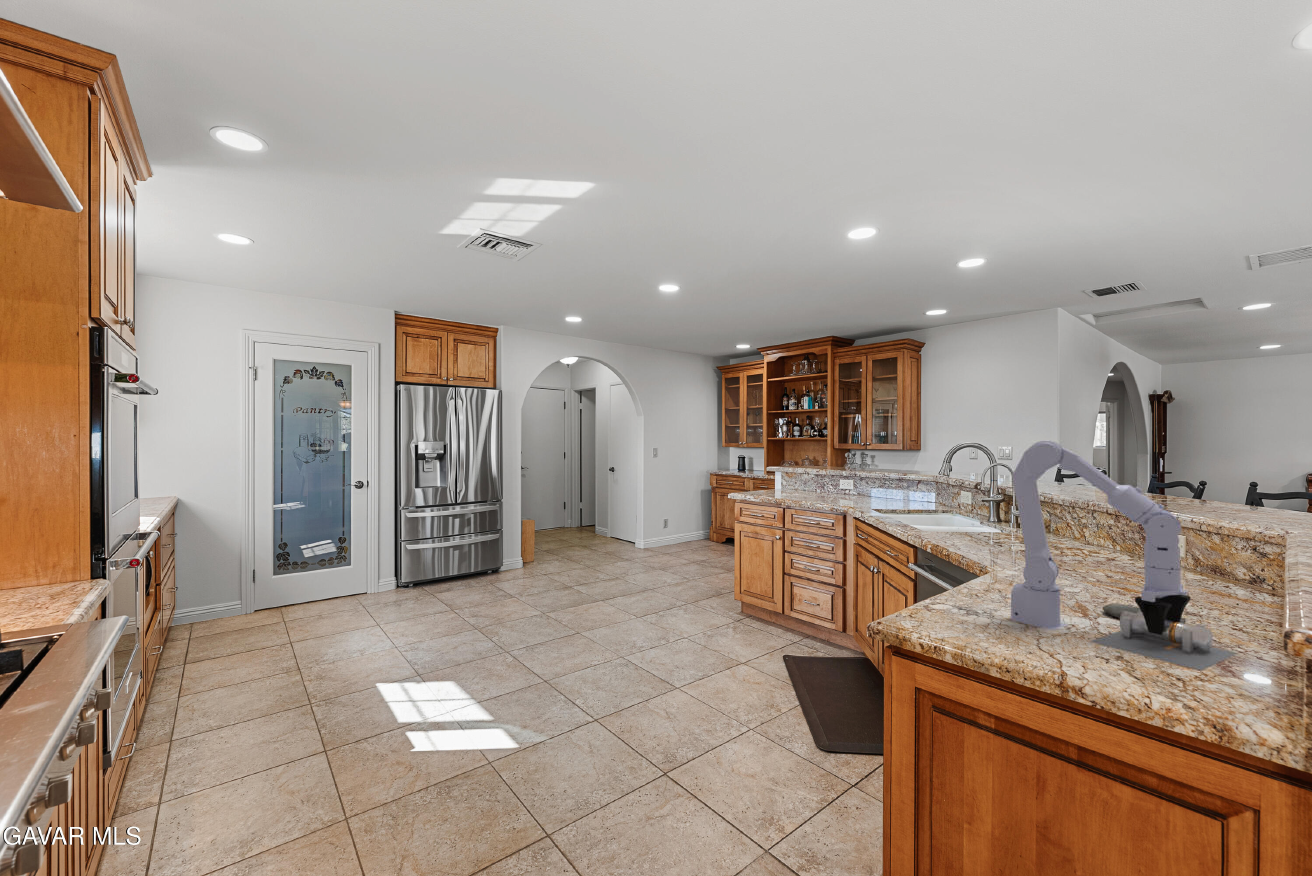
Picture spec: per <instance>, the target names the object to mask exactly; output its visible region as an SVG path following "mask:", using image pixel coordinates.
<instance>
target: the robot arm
mask: <svg viewBox="0 0 1312 876" xmlns="http://www.w3.org/2000/svg"><path fill="white" fill-rule="evenodd" d="M1057 465H1059V466H1058V468H1057V469H1059V470H1064V471H1069V472H1073V473H1075V474H1076V475H1078V476H1079V477H1081V478H1082V479H1084V480H1085V481H1086V482H1088V483H1090V484H1091V485H1092V486H1093V487H1095V488H1096V489H1099V490H1100V491H1101V492H1103V493H1104V494H1105V495H1106V497H1107V503H1108V505H1110V506H1112V507H1113V508H1114V509H1115V510H1117V511H1118V512H1119V513H1121V514H1122V515H1124V516H1125V517H1126V518H1128V519H1129V520H1130V521H1131V522H1133V523H1134V524H1139V525H1142V527H1143V530H1144V532H1145V543H1144V544H1143V549H1144V551H1143V553H1144V554H1143V555H1144V556H1143V558H1144V559H1143V560H1144V585H1143V589H1142V590H1141V593H1140V595H1141V596H1136V597H1134V602H1135V603H1136V605H1137V606H1138V608H1140V610H1141V611H1142V614H1143V616H1144V619H1145V622H1146V625H1147V628H1148V631H1149V632H1150V633H1154V634H1158V635H1162V634H1163V631H1164V625H1165V620H1170V621H1174V622H1179V623H1180V620H1181V618H1183V617H1182V615H1183V613H1184V610H1185V609H1186V606H1187V605H1188V604H1189V602H1190V601H1191V596H1190V595H1189V591H1188V590H1185V589H1184V584H1183V583H1182V582H1181V578H1182V577H1181V547H1180V546H1179V544H1180V538H1179V535H1181V533H1182V527H1181V523H1180V521H1179V520H1178V518H1177V517H1176V516H1175V515H1174V514H1172V512H1171V511H1169V510H1166V509H1164V508H1165V506H1164V505H1163V503H1162V504H1161V503H1158V504H1157V503H1156V502H1155V501H1153V500H1152V499H1150V498H1149V497H1148V496H1146V495H1145V494H1143V489H1141V488H1140V487H1138V486H1136V487H1133V486H1132V485H1130V484H1118V483H1117V482H1116V481H1114V480H1113V479H1111V478H1110V477H1109V476H1108V475H1106V474H1105V473H1103V472H1102V471H1100V470H1099V469H1098V468H1097V467H1095V466H1094V465H1093V464H1092V463H1090V462H1088V461H1087V460H1086V459H1084V458H1083V457H1082V456H1081V455H1079V454H1076V452H1074V451H1071V450H1069V449H1067V448H1066V447H1062V446H1061V445H1060V444H1059V443H1057V442H1055V441H1052V440H1040V441H1037V442H1035V443H1034V444H1032V445H1031V446H1029V448H1027V449H1026V450H1025V451H1024V452H1023V455H1022V456H1021V458H1020V460H1019V462H1018V464H1017V466H1016V467H1015V469H1014V471H1013V473H1012V482H1013V489H1014V494H1015V500H1016V505H1017V511H1018V516H1019V523H1020V526H1021V532H1022V533H1021V534H1022V538H1023V539H1022V540H1023V543H1024V560H1025V567H1024V568H1023V572H1022V575H1023V576H1022V577H1023V580H1025V581H1024V582H1023V583H1015V584H1014V585H1013V587H1012V589H1011V592H1010V610H1011V611H1010V618H1009V620H1012V621H1016V622H1019V623H1022V624H1026V625H1031V626H1034V627H1038V628H1042V629H1045V630H1049V631H1053V630H1056V629H1059V628H1063V627H1066V626H1069V623H1066V622H1065V623H1064V622H1061V588H1060V586H1059V585H1058V584H1057V583H1056V580H1057V578H1058V577H1059V573H1060V572H1059V571H1060V570H1059V567H1058V565H1057V563H1056V562H1055V561H1054V559H1053V558H1052V557H1053V556H1052V553H1051V552H1052V551H1051V550H1050V547H1049V543H1048V539H1047V533H1046V527H1045V520H1044V515H1043V511H1042V504H1041V499H1040V494H1039V489H1038V482H1037V481H1038V480H1039V479H1040V478H1041V477H1042V476H1043V475H1044V474H1045V473H1046V472H1047V471H1048V470H1050V469H1052V468H1053V467H1056V466H1057Z"/></svg>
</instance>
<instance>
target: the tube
mask: <svg viewBox="0 0 1312 876" xmlns="http://www.w3.org/2000/svg"><path fill="white" fill-rule="evenodd" d="M1124 616H1126V617H1131V618H1132V633H1134V634H1139V635H1143V636H1147V637H1151V638H1155V639H1160V640H1164V641H1168V642H1172V643H1176V644H1181V645H1182V630H1184V629H1186V630H1191V631H1192V634H1193V648H1198V649H1202V650H1206V651H1209V650H1210V649H1211V647H1212V646H1213V642H1214V641H1213V640H1214V639H1213V631H1212V630H1211V628H1207V627H1206V628H1203V627H1198V626H1196V625H1191V624H1187V623H1185V624H1184V623H1179V622H1174V621H1170V620H1165V625H1164V631H1163V634H1162V635H1158V634H1154V633H1150V632H1149V631H1148V628H1147V625H1146V622H1145V619H1144V616H1143V615H1141V614H1136V613H1132V612H1127V611H1124V612H1122V614H1121V616H1120V619H1119V628H1120V630H1123V617H1124Z"/></svg>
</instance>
